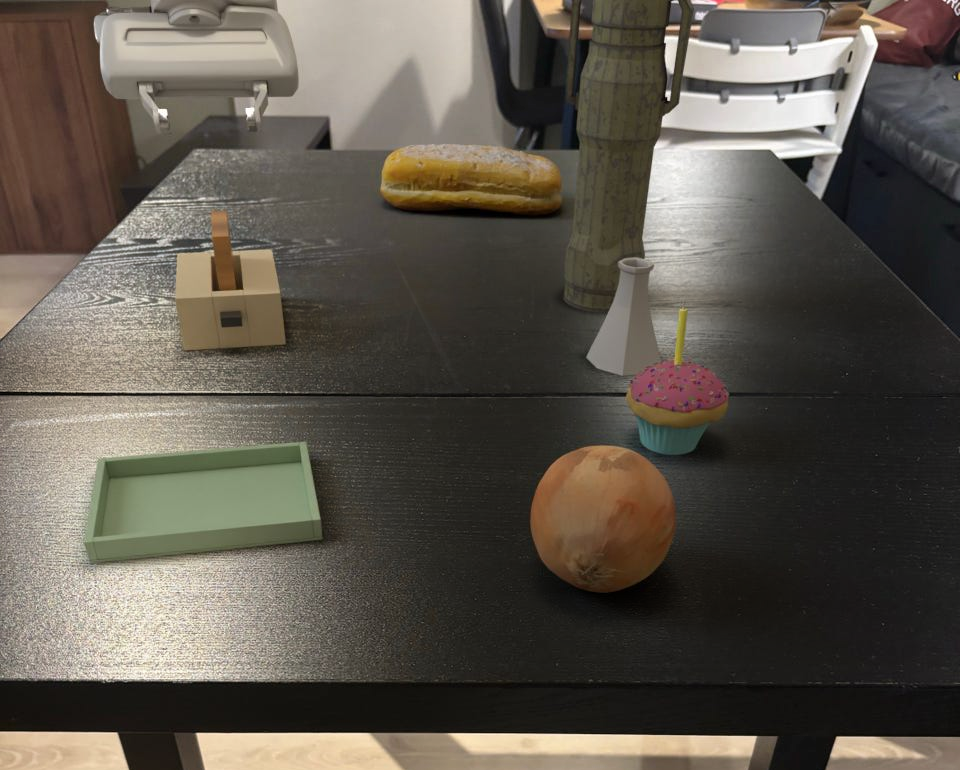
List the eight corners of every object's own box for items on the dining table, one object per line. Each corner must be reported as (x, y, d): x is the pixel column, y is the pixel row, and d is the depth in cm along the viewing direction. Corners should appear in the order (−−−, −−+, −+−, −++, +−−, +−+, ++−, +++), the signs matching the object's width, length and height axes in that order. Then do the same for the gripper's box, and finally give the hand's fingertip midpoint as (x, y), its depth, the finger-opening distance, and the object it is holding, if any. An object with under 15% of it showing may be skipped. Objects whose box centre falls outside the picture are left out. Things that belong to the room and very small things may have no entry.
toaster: (186, 309, 104) (177, 253, 100) (278, 304, 106) (272, 249, 102) (185, 365, 92) (174, 304, 89) (287, 358, 94) (281, 298, 90)
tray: (90, 566, 66) (83, 542, 64) (103, 480, 75) (97, 458, 73) (323, 542, 69) (320, 519, 67) (308, 463, 78) (306, 441, 76)
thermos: (650, 319, 105) (706, -71, 83) (546, 310, 107) (573, -76, 84) (652, 293, 112) (705, -75, 90) (554, 285, 113) (582, -80, 91)
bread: (384, 193, 144) (382, 135, 139) (556, 197, 144) (560, 140, 139) (378, 218, 133) (376, 157, 128) (563, 222, 134) (568, 161, 129)
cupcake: (608, 425, 85) (625, 291, 77) (697, 419, 86) (722, 287, 78) (638, 471, 78) (659, 330, 70) (734, 465, 79) (765, 325, 72)
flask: (621, 383, 92) (634, 280, 85) (573, 358, 96) (582, 258, 90) (674, 367, 95) (690, 266, 89) (625, 344, 99) (637, 246, 93)
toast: (225, 307, 103) (210, 210, 96) (239, 306, 103) (226, 210, 96) (226, 338, 96) (211, 236, 89) (242, 337, 96) (228, 235, 90)
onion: (658, 543, 70) (679, 419, 63) (670, 625, 62) (696, 494, 56) (528, 535, 70) (536, 411, 64) (524, 617, 62) (533, 485, 56)
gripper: (84, -17, 95) (99, 111, 94) (288, -15, 99) (304, 108, 98) (98, 30, 101) (112, 150, 100) (289, 30, 105) (305, 146, 104)
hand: (209, 129), depth 99 cm, fingers open, 8 cm apart
